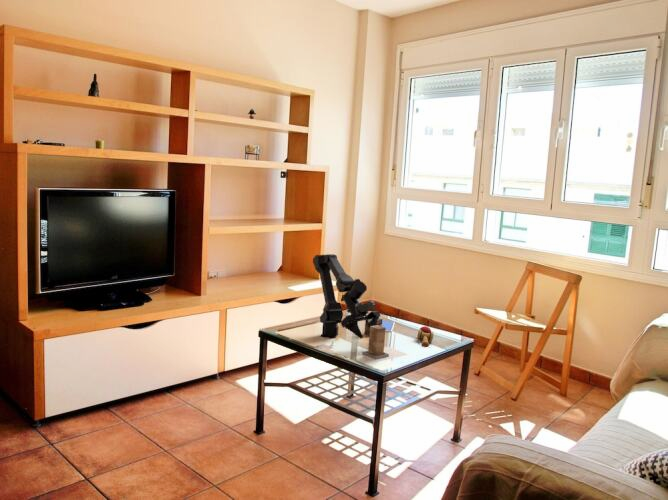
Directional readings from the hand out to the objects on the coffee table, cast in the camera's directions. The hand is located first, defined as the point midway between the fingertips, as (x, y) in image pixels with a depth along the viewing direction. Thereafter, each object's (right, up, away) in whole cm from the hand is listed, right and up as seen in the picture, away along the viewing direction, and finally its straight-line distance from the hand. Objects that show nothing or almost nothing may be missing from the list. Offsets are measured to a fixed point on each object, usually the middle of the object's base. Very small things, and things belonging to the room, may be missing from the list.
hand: (369, 336), depth 238 cm
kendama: (+27, -7, +25) cm, 37 cm away
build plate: (+5, -8, +1) cm, 10 cm away
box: (+4, -4, +33) cm, 34 cm away
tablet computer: (+8, -3, +48) cm, 49 cm away
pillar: (+2, -7, -2) cm, 8 cm away
